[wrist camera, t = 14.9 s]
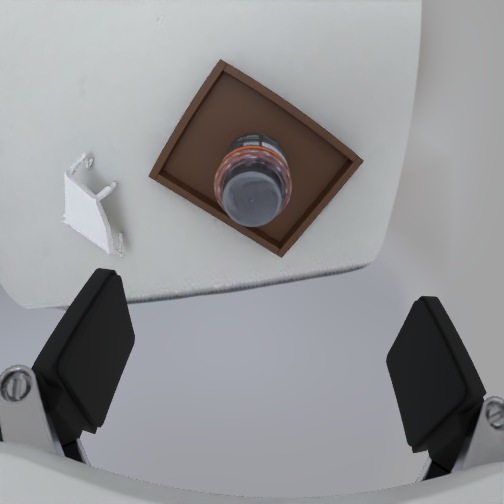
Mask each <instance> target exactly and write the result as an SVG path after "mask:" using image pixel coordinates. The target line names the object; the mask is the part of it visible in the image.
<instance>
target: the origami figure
mask: <svg viewBox="0 0 504 504" xmlns="http://www.w3.org/2000/svg"><path fill="white" fill-rule="evenodd" d="M82 160H84V163H85V165H86V168H87V169H88V170H89V168H90V166H91V164H92V162H93V159H92V158H91V159H90V161H89V163H88V160H87V156H86V154H85V153H84V154H83V155H82V156H80V157H79V158H78V159H77V160H76V161H75V162H74V164H73V165H72V166H71V167H70V169H69V170H67V171H66V172H65V176H64V179H65V212H63V214H62V216H63V217H64V218H65V219H64V220H62V222H64V223H67V224H68V225H70V226H71V227H73V228H74V229H75V230H77V231H78V232H80V233H81V234H82V235H84V236H85V237H87V238H88V239H89V240H91V241H92V242H94V243H95V244H97V245H98V246H99V247H101V248H102V249H104V250H105V251H106V252H107V254H108V255H111V254H115V255H117V256H119V257H121V258H122V257H123V256H124V246H123V234H122V233H121V232H120V233H119V235H118V236H119V237H120V238H119V251H118V250H117V249H115V248H114V247H113V241H112V235H111V229H110V225H109V223H108V220H107V218H106V215H105V213H104V210H103V208H102V205H101V203H100V200H102V199H103V198H104V197H105V196H107V195H108V194H109V193H111V192H112V191H113V190H114V189H115V187H116V186H117V183H116V182H115V181H114V182H113V183H112V184H111V185H110V186H107V187H105V188H104V189H103V190H102V191H101V192H100V193H98V194H97V195H95V194H94V193H92V192H91V191H90V190H89V189H88V188H86V187H85V186H84V185H83V184H82V183H81V182H79V181H78V180H77V179H76V178H75V177H74V176H73V175H74V173H75V170H76V168H77V167H78V165H79V164H80V163H81V161H82Z"/></svg>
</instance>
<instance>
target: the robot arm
mask: <svg viewBox="0 0 504 504" xmlns="http://www.w3.org/2000/svg"><path fill="white" fill-rule="evenodd" d="M134 341H135V335H134V331H133V327H132V323H131V319H130V315H129V310H128V306H127V302H126V297H125V293H124V288H123V283H122V279H121V277H120V276H119V275H117V273H116V271H115V270H110V269H102V268H98V269H96V270H95V272H94V273H93V274H92V276H91V277H90V278H89V280H88V281H87V283H86V284H85V285H84V287H83V288H82V290H81V291H80V292H79V294H78V295H77V297H76V298H75V300H74V301H73V302H72V304H71V305H70V307H69V308H68V310H67V311H66V313H65V314H64V316H63V317H62V319H61V320H60V322H59V323H58V325H57V326H56V328H55V330H54V331H53V333H52V334H51V336H50V338H49V339H48V341H47V342H46V344H45V346H44V347H43V349H42V351H41V352H40V354H39V356H38V357H37V359H36V361H35V362H34V365H33V367H32V368H31V369H30V368H29V367H27V366H24V365H15V366H11V367H9V368H7V369H6V370H5V371H4V372H2V373H1V375H0V504H504V399H502V398H500V397H495V396H492V397H489V398H487V399H486V400H485V401H484V399H483V396H484V395H485V394H486V391H485V389H484V386H483V384H482V382H481V379H480V377H479V375H478V373H477V371H476V369H475V366H474V364H473V362H472V360H471V358H470V356H469V354H468V352H467V350H466V348H465V346H464V344H463V342H462V340H461V338H460V336H459V335H458V333H457V331H456V329H455V327H454V325H453V323H452V322H451V320H450V318H449V316H448V314H447V313H446V311H445V309H444V307H443V306H442V304H441V302H440V300H439V299H438V298H437V297H431V296H421V297H420V298H419V299H418V300H417V301H415V302H414V303H413V306H412V308H411V310H410V312H409V314H408V316H407V318H406V320H405V322H404V324H403V326H402V328H401V330H400V332H399V334H398V336H397V338H396V340H395V342H394V344H393V346H392V347H391V349H390V351H389V353H388V355H387V359H386V363H387V367H388V370H389V373H390V377H391V381H392V384H393V388H394V391H395V395H396V399H397V403H398V406H399V410H400V414H401V418H402V422H403V426H404V430H405V435H406V439H407V443H408V445H409V446H412V451H413V453H417V452H422V451H426V450H428V453H429V457H428V459H427V461H426V463H425V465H424V467H423V469H422V471H421V473H420V474H419V476H418V478H417V480H416V482H415V483H412V484H408V485H403V486H399V487H393V488H388V489H383V490H377V491H370V492H363V493H356V494H346V495H336V496H324V497H305V498H263V497H244V496H231V495H221V494H212V493H204V492H197V491H191V490H184V489H179V488H173V487H168V486H163V485H158V484H154V483H149V482H145V481H141V480H137V479H133V478H130V477H126V476H122V475H119V474H115V473H111V472H108V471H105V470H102V469H99V468H95V467H92V466H91V465H90V462H89V460H88V458H87V455H86V453H85V451H84V448H83V446H82V443H81V441H80V436H81V433H82V430H84V431H87V432H90V433H93V434H95V433H96V430H97V427H101V426H102V425H103V423H104V421H105V418H106V415H107V412H108V409H109V407H110V404H111V401H112V399H113V396H114V393H115V391H116V388H117V386H118V383H119V380H120V377H121V375H122V373H123V370H124V368H125V365H126V363H127V360H128V357H129V355H130V353H131V350H132V348H133V345H134Z"/></svg>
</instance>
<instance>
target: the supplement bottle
mask: <svg viewBox="0 0 504 504" xmlns="http://www.w3.org/2000/svg"><path fill="white" fill-rule="evenodd" d="M214 192H215V196H216V198H217V201H218V203H219V205H220V206H221V207H222V209H223V210H224V211H225V212H226V213H227V215H228V216H229V217H230V218H231V219H232V220H233V221H235V222H236V223H238V224H240V225H243V226H247V227H257V226H262V225H264V224H267V223H268V222H270V221H271V220H273V219H274V218H275V216H277V215H278V214H279V213H280V212H282V210H283V209H284V208H285V207H286V205H287V204H288V202H289V199H290V196H291V193H292V179H291V174H290V171H289V168H288V165H287V162H286V158H285V155H284V152H283V150H282V148H281V147H280V145H279V144H278V143H277V142H276V141H275V140H274V139H273V138H271V137H269V136H268V135H265V134H261V133H248V134H245V135H242V136H240V137H238V138H237V139H236V140H234V141H233V142H232V143H231V145H230V146H229V148H228V150H227V151H226V153H225V155H224V157H223V159H222V161H221V163H220V165H219V167H218V169H217V171H216V174H215V178H214Z"/></svg>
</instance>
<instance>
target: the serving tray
mask: <svg viewBox="0 0 504 504" xmlns="http://www.w3.org/2000/svg"><path fill="white" fill-rule="evenodd" d="M248 133H261V134H265V135H268V136H269V137H271V138H273V139H274V140H275V141H276V142H277V143H278V144H279V145H280V147H281V148H282V150H283V152H284V155H285V158H286V162H287V165H288V168H289V171H290V174H291V179H292V193H291V196H290V199H289V202H288V204H287V205H286V207H285V208H284V209H283V210H282V212H280V213H279V214H278V215H277V216H275V218H274V219H273V220H271V221H270V222H268V223H267V224H264V225H262V226H257V227H247V226H243V225H240V224H238V223H236V222H235V221H233V220H232V219H231V218H230V217H229V216H228V215H227V213H226V212H225V211H224V210H223V209H222V207H221V206H220V205H219V203H218V201H217V198H216V196H215V192H214V178H215V174H216V171H217V169H218V167H219V165H220V163H221V161H222V159H223V157H224V155H225V153H226V151H227V150H228V148H229V146H230V145H231V143H232V142H233V141H234V140H236V139H237V138H238V137H240V136H242V135H245V134H248ZM362 163H363V160H362V159H361V158H360V157H359V156H358V155H356V154H355V153H354V152H353V151H352V150H350V149H349V148H348V147H347V146H345V145H344V144H343V143H342V142H341V141H339V140H338V139H337V138H336V137H334V136H333V135H332V134H330V133H329V132H328V131H327V130H325V129H324V128H323V127H321V126H320V125H319V124H317V123H316V122H315V121H313V120H312V119H311V118H309V117H308V116H307V115H305V114H304V113H303V112H301V111H300V110H298V109H297V108H296V107H294V106H293V105H291V104H290V103H289V102H287V101H286V100H284V99H283V98H281V97H280V96H278V95H277V94H275V93H274V92H272V91H271V90H269V89H268V88H266V87H265V86H263V85H262V84H260V83H259V82H257V81H255V80H254V79H252V78H251V77H249V76H247V75H246V74H244V73H243V72H241V71H239V70H238V69H236V68H234V67H233V66H231V65H229V64H227V63H226V62H224V61H222V60H219V62H218V63H217V65H216V66H215V67H214V69H213V70H212V72H211V73H210V75H209V76H208V78H207V79H206V80H205V82H204V83H203V85H202V86H201V88H200V90H199V91H198V93H197V94H196V96H195V97H194V99H193V100H192V102H191V103H190V105H189V107H188V108H187V110H186V111H185V113H184V115H183V116H182V118H181V120H180V121H179V123H178V125H177V126H176V128H175V130H174V131H173V133H172V135H171V136H170V138H169V140H168V142H167V143H166V145H165V147H164V149H163V150H162V152H161V154H160V156H159V158H158V159H157V161H156V163H155V165H154V167H153V169H152V171H151V172H150V174H149V177H150V178H152V179H154V180H155V181H157V182H159V183H160V184H162V185H164V186H165V187H167V188H169V189H170V190H172V191H174V192H175V193H177V194H179V195H180V196H182V197H183V198H185V199H187V200H188V201H190V202H192V203H193V204H195V205H197V206H198V207H200V208H202V209H203V210H205V211H206V212H208V213H210V214H211V215H213V216H215V217H216V218H218V219H220V220H221V221H223V222H224V223H226V224H228V225H229V226H231V227H233V228H234V229H236V230H237V231H239V232H241V233H242V234H244V235H246V236H247V237H249V238H250V239H252V240H254V241H255V242H257V243H259V244H260V245H262V246H263V247H265V248H267V249H268V250H270V251H271V252H273V253H275V254H276V255H278V256H280V257H281V258H282V257H283V256H284V254H285V253H286V252H287V251H288V250H289V249H290V248H291V246H292V245H293V244H294V243H295V242H296V241H297V239H298V238H299V237H300V236H301V235H302V234H303V232H304V231H305V230H306V229H307V228H308V227H309V225H310V224H311V223H312V222H313V221H314V220H315V218H316V217H317V216H318V215H319V214H320V213H321V211H322V210H323V209H324V208H325V207H326V206H327V204H328V203H329V202H330V201H331V200H332V198H333V197H334V196H335V195H336V194H337V192H338V191H339V190H340V189H341V188H342V187H343V185H344V184H345V183H346V182H347V181H348V179H349V178H350V177H351V176H352V175H353V173H354V172H355V171H356V170H357V169H358V167H359V166H360V165H361V164H362Z"/></svg>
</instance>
